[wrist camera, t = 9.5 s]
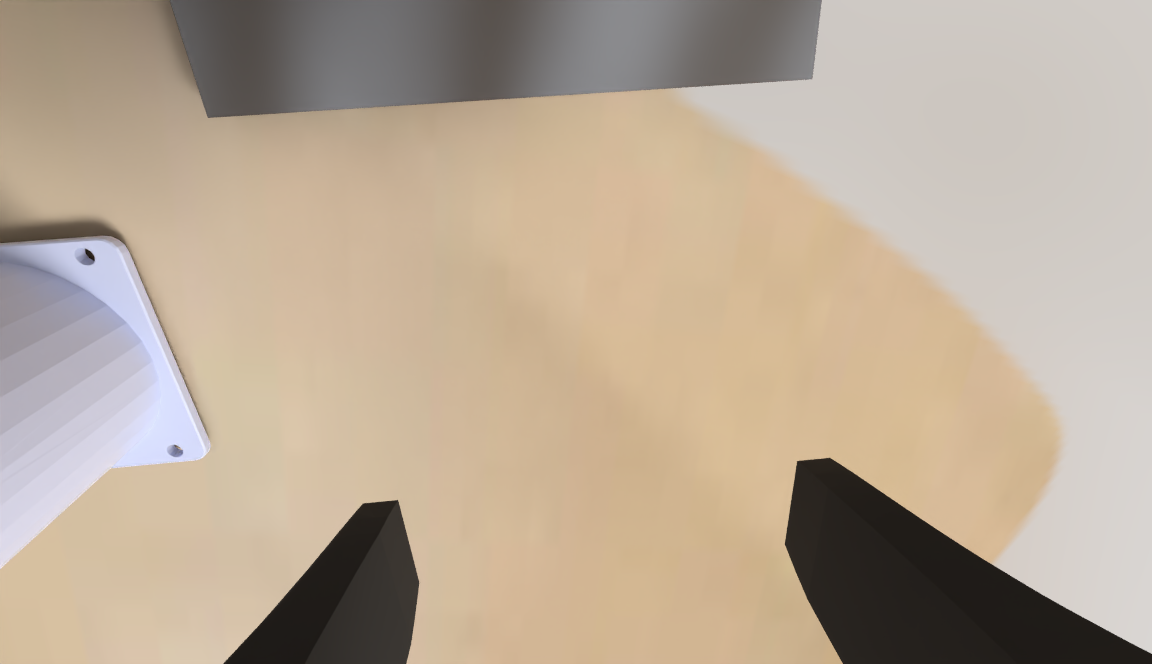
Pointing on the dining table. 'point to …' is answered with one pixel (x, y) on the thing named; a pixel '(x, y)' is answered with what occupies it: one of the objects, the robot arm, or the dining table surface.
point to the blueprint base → (481, 49)
